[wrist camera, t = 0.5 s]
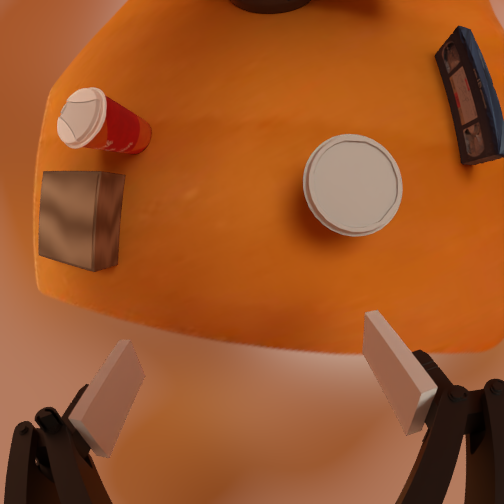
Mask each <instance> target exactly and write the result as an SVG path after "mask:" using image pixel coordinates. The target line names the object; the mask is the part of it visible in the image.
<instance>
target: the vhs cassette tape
mask: <svg viewBox="0 0 504 504" xmlns="http://www.w3.org/2000/svg"><path fill="white" fill-rule="evenodd" d="M435 58H436V61H437V64H438V67H439V70H440V73H441V76H442V80H443V83H444V86H445V90H446V93H447V97H448V101H449V104H450V108H451V112H452V117H453V121H454V126H455V131H456V135H457V141H458V146H459V152H460V158H461V163H462V164H463V165H464V164H467V165H476V164H479V163H484V162H488V161H491V160H492V161H493V160H496V159H500V158H501V157H503V158H504V120H503V116H502V111H501V107H500V104H499V100H498V97H497V94H496V91H495V89H494V87H493V83H492V79H491V76H490V74H489V71H488V68H487V66H486V63H485V60H484V58H483V56H482V53H481V51H480V49H479V47H478V45H477V43H476V41H475V38H474V36H473V34H472V32H471V29H468V28H465V27H462V26H458V27H457V28H456V29H455V30H454V32H453V34H451V35H450V37H449V38H448V39H447V40H446V41H445V43H444V44H443V45H442V46H441V48H440V49H439V51H438V52H437V53H436V54H435Z"/></svg>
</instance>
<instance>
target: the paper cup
mask: <svg viewBox="0 0 504 504" xmlns="http://www.w3.org/2000/svg"><path fill="white" fill-rule="evenodd" d="M66 101H69V102H67V103H66V105H64V107H63V109H62V111H61V115H60V117H58V122H57V130H58V135H59V137H60V139H61V140H62V141H63V142H65V144H66V145H67V146H68V147H70V148H81V147H86V148H93V149H100V150H106V151H113V152H119V153H126V154H137V153H140V152H142V151H143V150H144V149H145V148H146V147H147V146H148V144H149V142H150V140H151V134H152V132H151V127H150V125H149V124H148V123H147V122H146V121H145V120H143V119H142V118H140V117H139V116H137V115H136V114H134V113H133V112H131V111H129V110H128V109H126V108H125V107H123V106H121V105H120V104H118V103H117V102H115V101H113V100H112V99H110V98H108V97H107V96H105V94H104V93H103V91H101V90H100V89H98V88H95V87H91V88H83V89H80V90H77V91H76V92H74V93H73V94H72V95H71V96H70V97H69V98H68V99H67V100H66Z"/></svg>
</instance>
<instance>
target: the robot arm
mask: <svg viewBox="0 0 504 504" xmlns="http://www.w3.org/2000/svg"><path fill="white" fill-rule="evenodd" d="M230 1H231V2H232V3H233V4H234V5H236V6H237V7H239V8H241V9H244V10H247V11H251V12H256V13H281V12H287V11H291V10H294V9H297V8H300V7H302V6H304V5H306V4H307V3H309V2H310V1H311V0H230ZM363 355H364V357H365V358H366V360H367V362H368V364H369V366H370V367H371V369H372V371H373V373H374V375H375V376H376V378H377V380H378V382H379V384H380V386H381V387H382V390H383V392H384V393H385V395H386V397H387V399H388V401H389V403H390V405H391V407H392V409H393V411H394V412H395V414H396V417H397V418H398V420H399V422H400V424H401V426H402V428H403V430H404V432H405V434H406V436H407V435H410V434H413V433H416V432H418V431H421V430H422V427H423V425H424V423H426V425H427V427H428V430H427V432H426V434H425V436H424V439H423V441H422V442H423V443H422V446H421V449H420V451H419V454H418V456H417V459H416V461H415V464H414V466H413V468H412V470H411V473H410V475H409V477H408V479H407V481H406V484H405V486H404V488H403V490H402V492H401V494H400V496H399V498H398V500H397V501H396V503H395V504H442V503H443V500H444V498H445V495H446V492H447V489H448V487H449V484H450V481H451V478H452V475H453V471H454V468H455V465H456V462H457V458H458V454H459V451H460V446H461V443H462V439H463V435H465V434H466V489H465V502H464V504H504V381H503V380H500V379H491V380H489V381H488V382H487V383H486V384H485V386H484V389H481V390H475V391H468V390H467V389H465V388H464V387H462V386H459V385H453V384H452V383H451V382H450V381H449V379H448V378H447V377H446V375H445V374H444V373H443V372H442V370H441V369H440V368H439V367H438V365H437V364H436V363H435V362H434V361H433V359H432V358H431V357H430V356H429V355H428V354H427V353H425V352H423V351H422V350H417V351H414V352H411V351H410V350H409V348H408V347H407V346H406V345H405V343H404V342H403V341H402V340H401V338H400V337H399V336H398V335H397V333H396V332H395V331H394V330H393V328H392V327H391V326H390V325H389V323H388V322H387V321H386V320H385V319H384V317H383V316H382V315H381V314H380V312H379V311H378V310H375V311H370V312H366V313H365V321H364V339H363ZM144 378H145V374H144V372H143V370H142V367H141V365H140V362H139V360H138V357H137V355H136V352H135V350H134V347H133V345H132V342H131V340H119V341H118V343H117V344H116V346H115V347H114V349H113V350H112V351H111V353H110V354H109V356H108V357H107V359H106V360H105V362H104V363H103V365H102V366H101V368H100V369H99V371H98V372H97V374H96V375H95V377H94V378H93V380H92V381H91V383H90V384H86V385H85V386H84V387H82V388H81V389H80V390H79V391H78V393H77V395H76V396H75V398H74V399H73V401H72V403H70V405H69V407H68V408H67V410H66V411H65V413H64V414H63V416H62V417H60V415H59V414H58V412H57V411H56V409H54V408H52V407H46V408H43V409H41V410H40V411H39V412H38V413H37V414H36V416H35V421H36V422H37V424H38V425H39V426H40V428H35V427H34V426H33V425H32V423H30V422H29V421H24V422H21V423H19V424H18V425H17V426H16V427H15V430H14V433H13V438H12V443H11V449H10V454H9V461H8V467H7V475H6V485H5V496H4V497H5V498H4V504H112V502H111V500H110V498H109V496H108V494H107V492H106V490H105V488H104V485H103V483H102V481H101V479H100V476H99V474H98V472H97V470H96V467H95V465H94V462H93V460H92V457H91V456H90V455H89V451H90V449H92V450H93V452H94V453H95V454H96V455H97V456H102V457H106V458H110V455H111V453H112V451H113V448H114V446H115V443H116V441H117V439H118V436H119V434H120V432H121V429H122V427H123V425H124V422H125V420H126V418H127V415H128V413H129V411H130V408H131V406H132V404H133V402H134V400H135V397H136V395H137V393H138V391H139V389H140V386H141V384H142V382H143V380H144ZM35 459H36V461H37V463H36V461H35Z"/></svg>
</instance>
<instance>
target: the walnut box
mask: <svg viewBox="0 0 504 504" xmlns="http://www.w3.org/2000/svg"><path fill="white" fill-rule="evenodd" d="M124 181H125V175H122V174H115V173H109V172H102V171H43V179H42V188H41V199H40V213H39V255H40V256H43V257H46V258H49V259H52V260H55V261H59V262H62V263H65V264H69V265H72V266H75V267H79V268H82V269H86V270H89V271H93V272H96V271H99V270H102V269H105V268H108V267H111V266H115V265H118V247H119V231H120V218H121V207H122V198H123V189H124Z"/></svg>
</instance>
